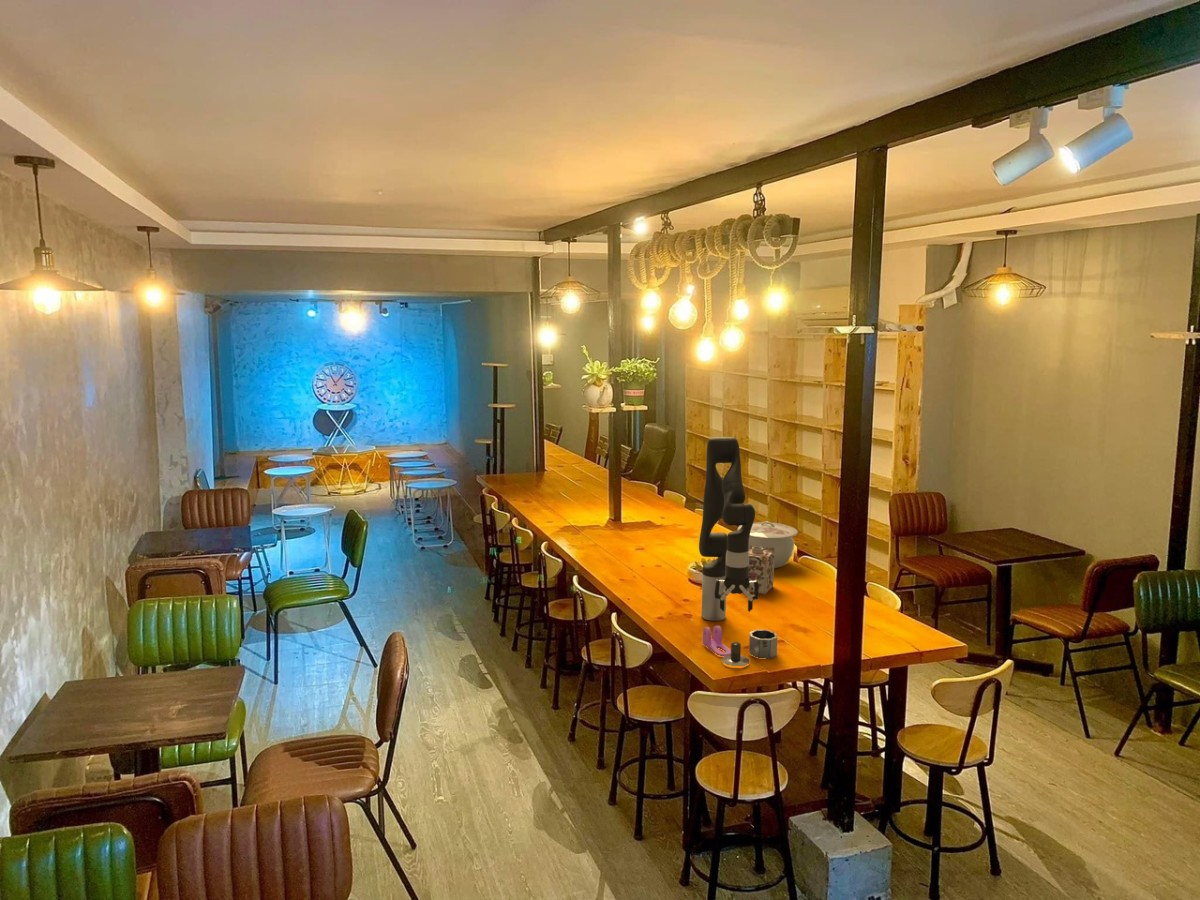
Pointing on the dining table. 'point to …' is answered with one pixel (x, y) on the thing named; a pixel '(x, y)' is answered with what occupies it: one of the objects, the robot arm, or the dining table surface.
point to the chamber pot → (773, 540)
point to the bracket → (715, 641)
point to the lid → (735, 656)
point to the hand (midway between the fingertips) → (735, 610)
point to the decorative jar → (761, 569)
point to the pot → (763, 644)
